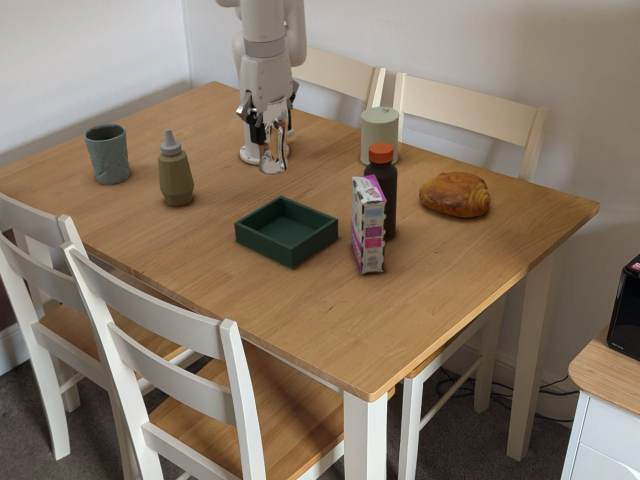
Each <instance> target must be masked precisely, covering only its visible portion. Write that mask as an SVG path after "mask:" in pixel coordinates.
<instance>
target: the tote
mask: <svg viewBox="0 0 640 480" xmlns="http://www.w3.org/2000/svg"><path fill="white" fill-rule="evenodd" d="M233 227H234V235H235V243H237V244H239V245H241V246H243V247H246V248H248V249H249V250H251V251H254V252H256V253H258V254H261V255H262V256H264V257H266V258H269V259H271V260H273V261H275V262H276V263H279V264H281V265H283V266H284V267H287V268H290V269H291V270H293V269H295V268H296V267H297V266H299V265H301V264H302V263H304V262H305V261H307V260H308V259H310V258H312V257H313V256H314V255H316V254H317V253H319V252H320V251H322V250H323V249H324V248H326V247H328V246H329V245H330V244H332V243H333V242H335V241H336V240H338V239H339V237H340V236H339V218H337V217H334V216H332V215H329V214H327V213H325V212H322V211H320V210H317V209H315V208H312V207H310V206H308V205H305V204H302V203H300V202H298V201H296V200H293V199H291V198H288V197H286V196H283V195H279V196H277V197H275V198H274V199H272V200H270V201H269V202H266V203H265V204H263V205H261V206H260V207H259V208H257V209H255V210H253V211H252V212H250V213H248V214H246V215H245V216H243V217H241V218H240V219H238V220H236V221H235V222H233Z"/></svg>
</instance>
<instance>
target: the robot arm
mask: <svg viewBox="0 0 640 480" xmlns="http://www.w3.org/2000/svg"><path fill="white" fill-rule="evenodd" d="M214 2H215V3H216V4H217V5H218V6H219V7H222V8H225V9H226V8H227V9H228V8H233V9H234V13H235V15H236V17H237V19H238V20H239V21H241V27H242V28H241V29H242V30H241V31H238V32H237V33H235V35H234V36H233V38H232V41H231V51H232V52H231V54H232V58H233V61H234V66H235V69H236V70H235V71H236V74H237V79H238V87H239V96H240V104H239V106H238V108H237V110H236V112H235V113H236V115H237V116H238V117H239V118H240V119H241V120H242V126H243V127H242V129H243V137H244V138H243V139H244V145H242V146H241V148H240V149H239V157H240V159H241V161H243V162H245V163H247V164H249V165H255V166H259V160H260V153H259V147H258V145H260V146H263V145H264V143H265V142H264V129H263V126H262V125H261V121H262V117H263V112H264V111H266V110H267V107H268V103H272V102H277V101H279V100H281V99H283V97H284V95H286V101H287V108H288V133H287V139H289V138H291V137H293V136H294V135H296V131H295V130H294V129H293V127H292V112H291V111H292V110H293V109H294V105H293V103H294V102H295V99H296V96H297V95H296V94H297V93H298V91H299V88H300V83H299V82H298V81H296V80H295V79H293V71H292V68H296V67H300V66H302V65H304V63H305V62H306V61H307V55H308V43H307V42H308V41H307V26H306V13H305V0H214ZM254 107H256V108H254ZM254 112H257V115H256V119H255V118H253V116H254ZM289 154H290V147H289V145H288V144H287V143H286V155H287V157H288V156H289Z"/></svg>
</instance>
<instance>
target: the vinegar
mask: <svg viewBox="0 0 640 480" xmlns="http://www.w3.org/2000/svg"><path fill="white" fill-rule="evenodd" d="M393 153H394V148H393V146H392V145H391V144H388V143H375V144H372V145H371V146H370V147H369V162H370V164H369V165H366V166H365V168H364V170H363V176H365V175H375V176H376V179H377V181H378V183H379V186H380V188H381V190H382V192H383V194H384V196H385V199H386V201H387V203H386V229H385V241H388V240H391V239H393V238H394V237H395V235H396V231H397V229H396V228H397V199H398V172H399V171H398V168H397V166H395V165H394V164H392V161H393Z"/></svg>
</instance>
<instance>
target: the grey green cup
mask: <svg viewBox="0 0 640 480" xmlns="http://www.w3.org/2000/svg"><path fill="white" fill-rule="evenodd" d="M83 139H84V142H85V145H86V148H87V152H88V153H89V159H90V162H91V165H92V167H93V169H92V170H93V172H94V177H95V179H96V181H97V182H98V183H99V184H102V185H116V184H119V183H122V182H125V181H126V180H127V179H128V178H129V177H130V175H131V171H130V163H129V160H128V159H129V151H128V143H127V130H126V127H125V126H124V125H121V124H118V123H102V124H97V125H94V126H91V127H90V128H88V129H86V130H85V131H84V132H83Z"/></svg>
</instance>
